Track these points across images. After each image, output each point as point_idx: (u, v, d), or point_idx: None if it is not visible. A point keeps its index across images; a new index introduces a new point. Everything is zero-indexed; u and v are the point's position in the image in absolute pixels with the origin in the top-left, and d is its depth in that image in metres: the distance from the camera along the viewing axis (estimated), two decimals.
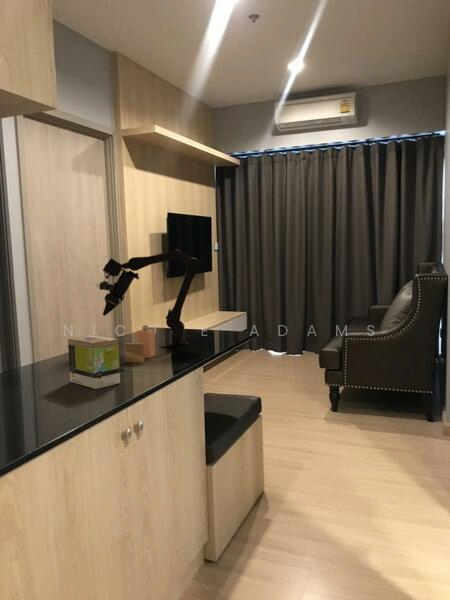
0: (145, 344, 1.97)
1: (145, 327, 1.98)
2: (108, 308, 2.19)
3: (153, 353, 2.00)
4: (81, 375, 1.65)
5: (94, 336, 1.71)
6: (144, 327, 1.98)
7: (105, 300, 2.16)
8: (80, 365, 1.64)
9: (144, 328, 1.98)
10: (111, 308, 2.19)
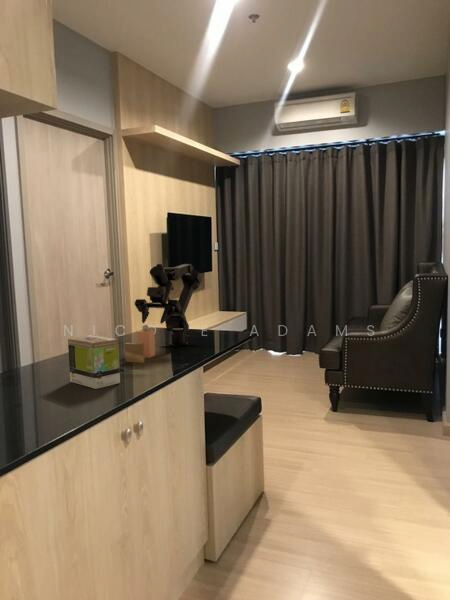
0: (145, 344, 1.97)
1: (145, 327, 1.98)
2: (166, 315, 2.05)
3: (153, 353, 2.00)
4: (81, 375, 1.65)
5: (94, 336, 1.71)
6: (144, 327, 1.98)
7: (171, 306, 2.04)
8: (80, 365, 1.64)
9: (144, 328, 1.98)
10: (168, 316, 2.06)
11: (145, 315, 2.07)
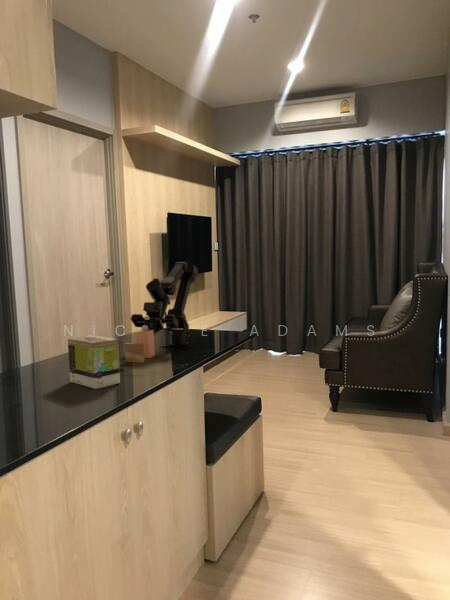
0: (144, 344, 1.96)
1: (144, 327, 1.97)
2: (154, 331, 2.03)
3: (152, 353, 1.99)
4: (81, 375, 1.65)
5: (94, 336, 1.71)
6: (143, 327, 1.98)
7: (159, 321, 2.02)
8: (80, 365, 1.64)
9: (143, 328, 1.98)
10: (156, 331, 2.04)
11: None
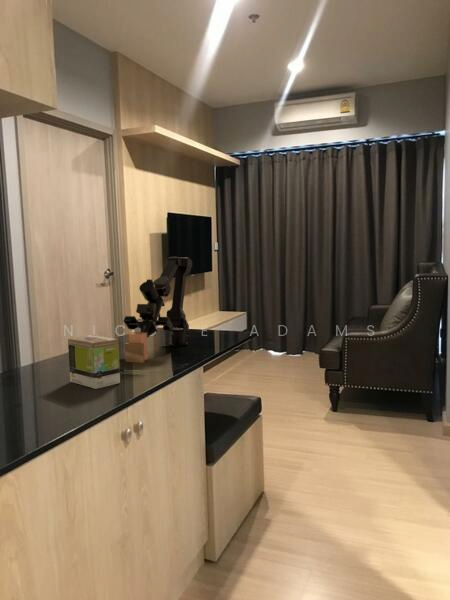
0: None
1: (137, 330, 1.92)
2: (148, 333, 1.98)
3: (146, 357, 1.94)
4: (81, 375, 1.65)
5: (94, 336, 1.71)
6: (136, 330, 1.92)
7: (152, 324, 1.97)
8: (80, 365, 1.64)
9: (136, 331, 1.92)
10: (150, 333, 1.99)
11: None
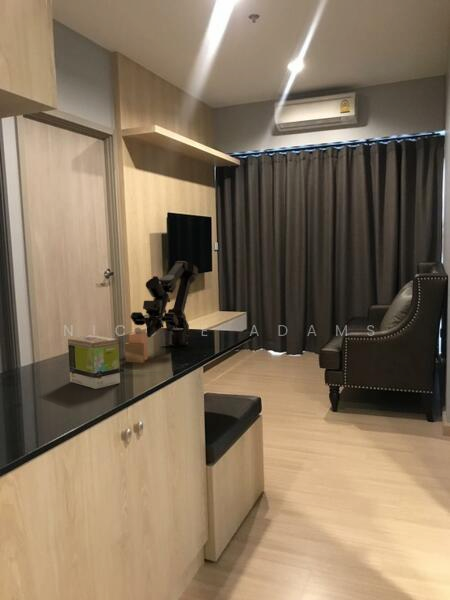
0: None
1: (137, 330, 1.92)
2: (154, 329, 2.03)
3: (146, 356, 1.94)
4: (81, 375, 1.65)
5: (94, 336, 1.71)
6: (136, 330, 1.92)
7: (159, 319, 2.02)
8: (80, 365, 1.64)
9: (136, 331, 1.92)
10: (156, 329, 2.04)
11: None
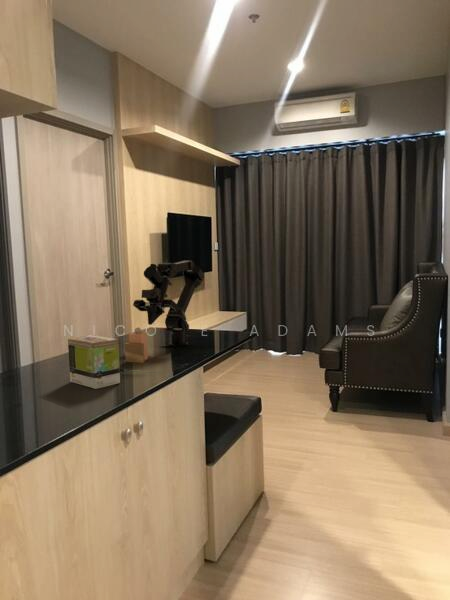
0: None
1: (137, 330, 1.92)
2: (155, 316, 2.08)
3: (146, 356, 1.94)
4: (81, 375, 1.65)
5: (94, 336, 1.71)
6: (136, 330, 1.92)
7: (158, 307, 2.06)
8: (80, 365, 1.64)
9: (136, 331, 1.92)
10: (158, 315, 2.09)
11: None
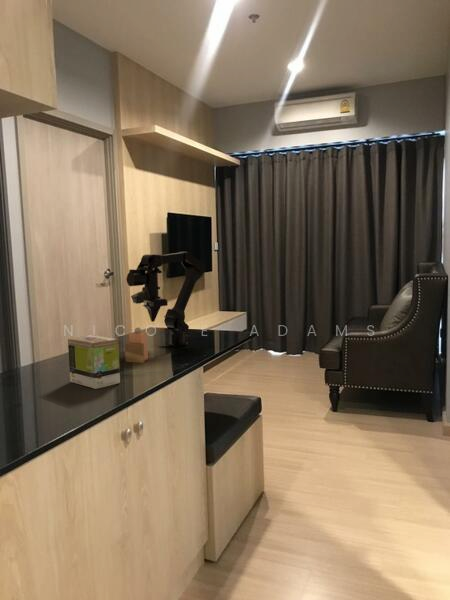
0: None
1: (137, 330, 1.92)
2: (154, 312, 2.16)
3: (146, 356, 1.94)
4: (81, 375, 1.65)
5: (94, 336, 1.71)
6: (136, 330, 1.92)
7: (150, 307, 2.13)
8: (80, 365, 1.64)
9: (136, 331, 1.92)
10: (157, 311, 2.17)
11: None
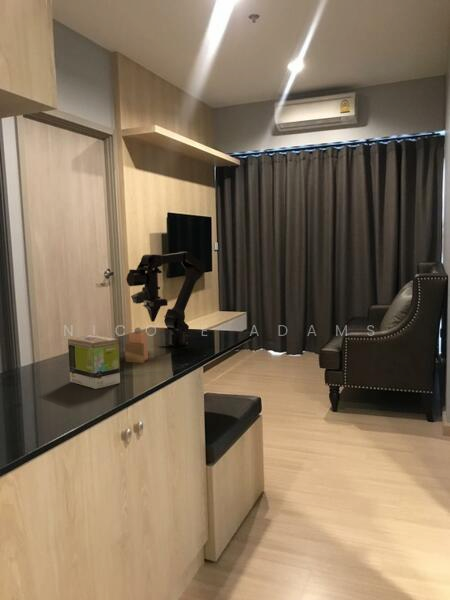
0: None
1: (137, 330, 1.92)
2: (154, 312, 2.16)
3: (146, 356, 1.94)
4: (81, 375, 1.65)
5: (94, 336, 1.71)
6: (136, 330, 1.92)
7: (150, 307, 2.13)
8: (80, 365, 1.64)
9: (136, 331, 1.92)
10: (157, 311, 2.17)
11: None
